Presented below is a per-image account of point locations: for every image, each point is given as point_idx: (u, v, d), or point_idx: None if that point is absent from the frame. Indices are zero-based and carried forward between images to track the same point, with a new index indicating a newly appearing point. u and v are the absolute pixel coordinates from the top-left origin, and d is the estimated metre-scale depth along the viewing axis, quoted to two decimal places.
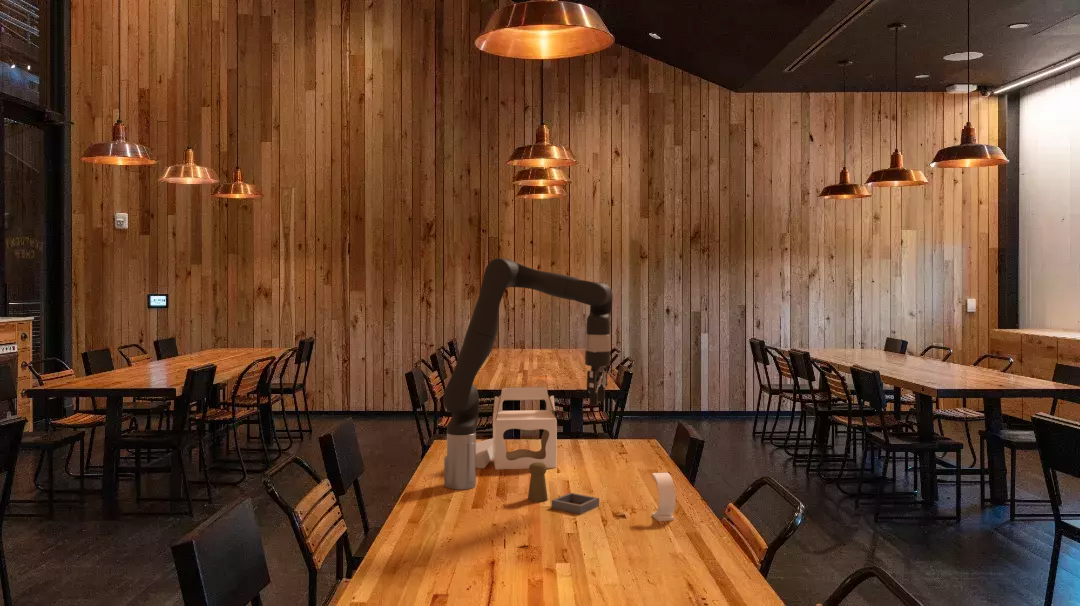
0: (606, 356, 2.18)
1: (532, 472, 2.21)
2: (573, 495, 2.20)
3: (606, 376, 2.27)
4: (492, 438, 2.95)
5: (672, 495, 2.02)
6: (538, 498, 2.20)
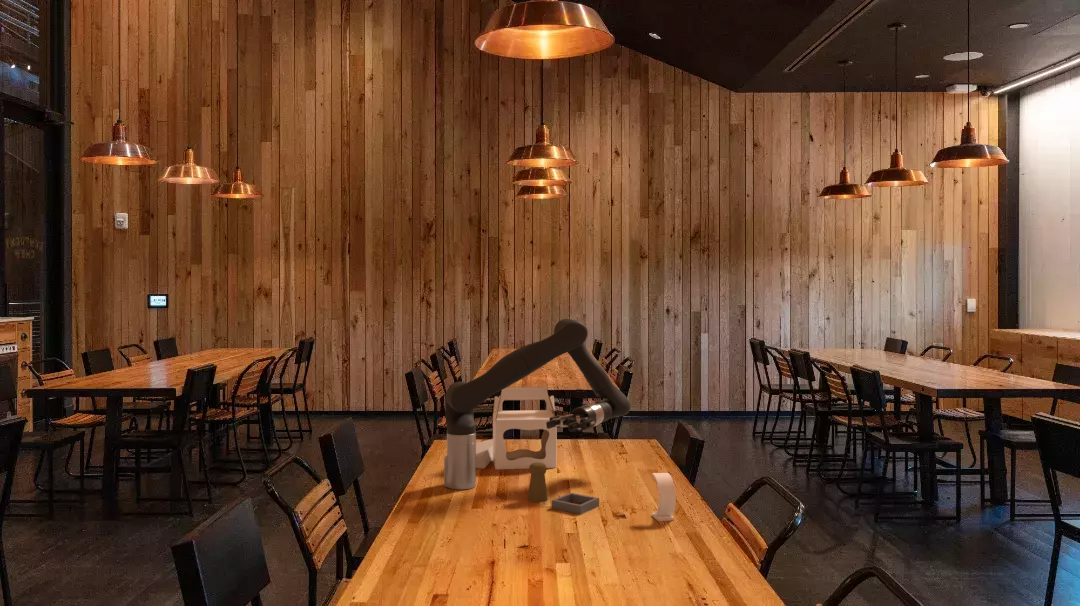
0: None
1: (532, 472, 2.21)
2: (573, 495, 2.20)
3: (557, 423, 2.40)
4: None
5: (672, 495, 2.02)
6: (538, 498, 2.20)
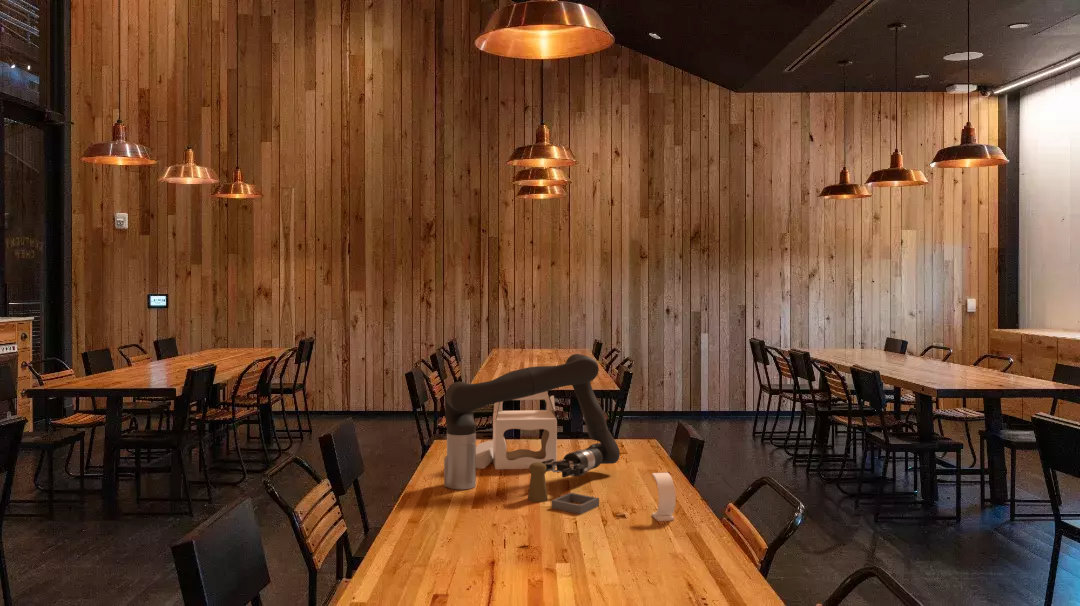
0: None
1: (532, 472, 2.21)
2: (573, 495, 2.20)
3: (548, 468, 2.38)
4: None
5: (672, 495, 2.02)
6: (538, 498, 2.20)
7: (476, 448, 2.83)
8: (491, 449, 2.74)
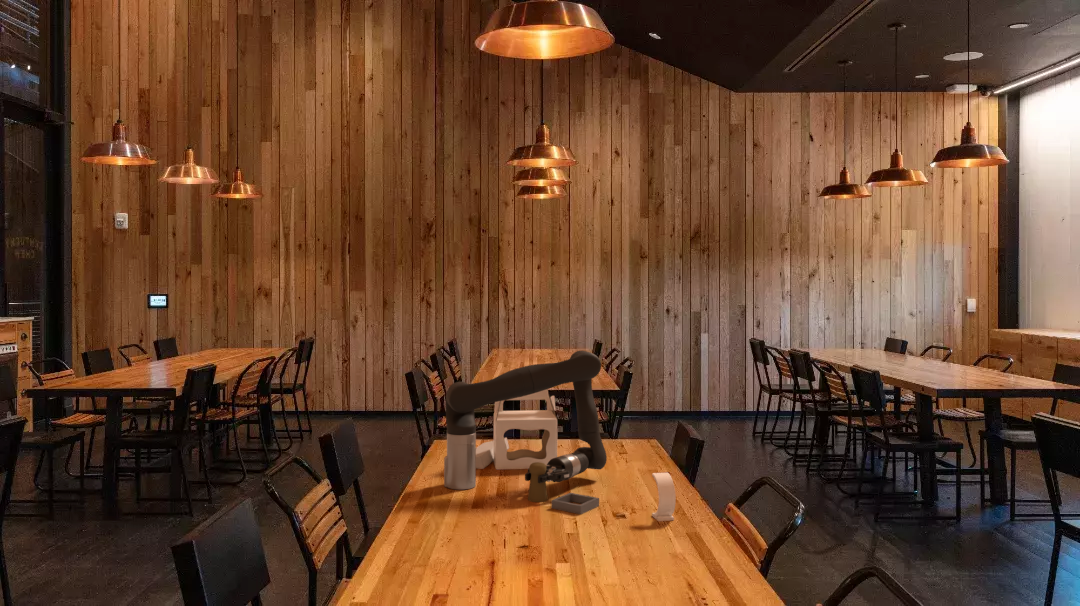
0: None
1: (532, 472, 2.21)
2: (573, 495, 2.20)
3: None
4: None
5: (672, 495, 2.02)
6: (538, 498, 2.20)
7: (477, 448, 2.83)
8: (492, 449, 2.73)
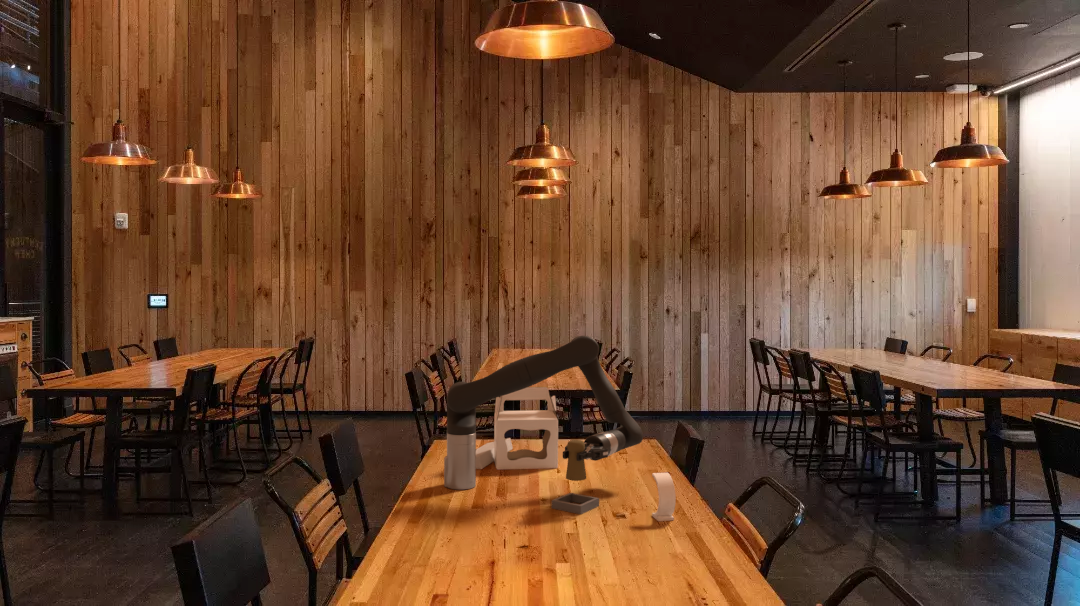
0: None
1: (570, 449, 2.13)
2: (573, 495, 2.20)
3: None
4: None
5: (672, 495, 2.02)
6: (577, 477, 2.12)
7: (480, 448, 2.83)
8: (492, 450, 2.73)
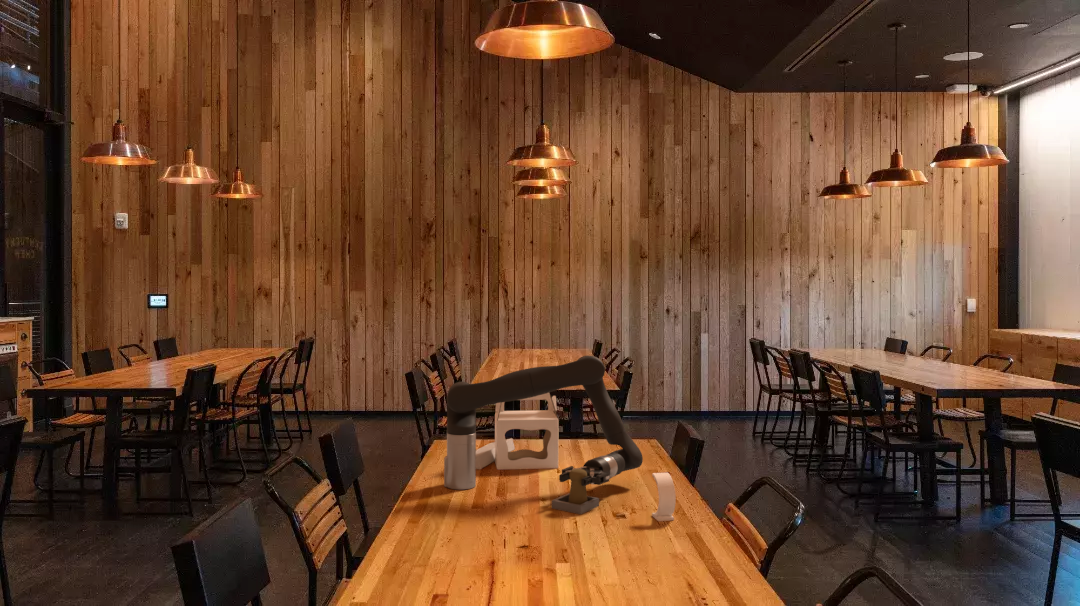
0: None
1: (573, 479, 2.13)
2: None
3: None
4: None
5: (672, 495, 2.02)
6: None
7: (481, 448, 2.83)
8: (492, 450, 2.73)
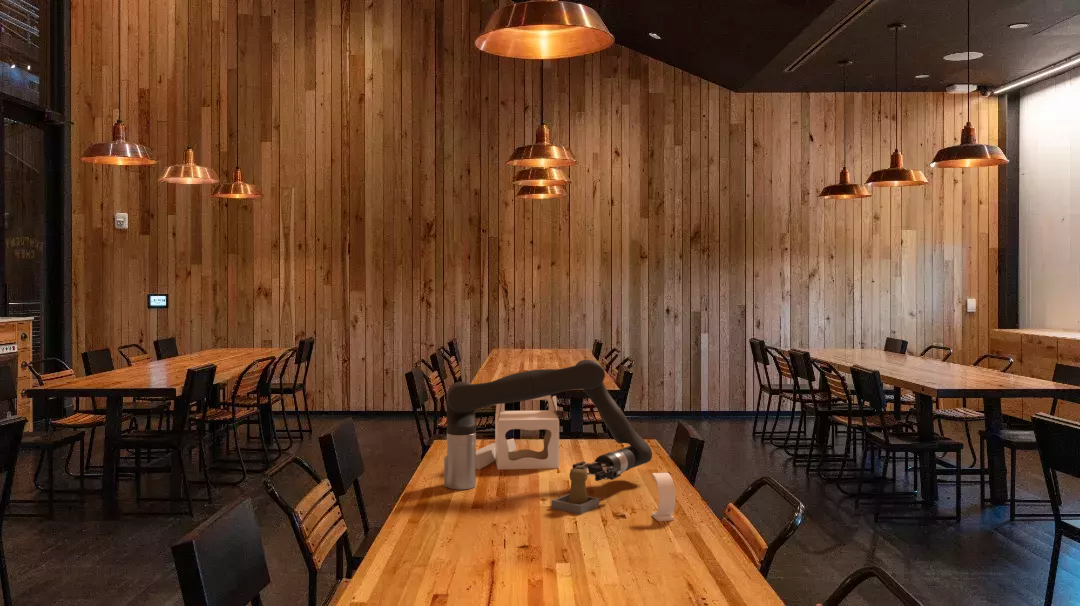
0: None
1: (573, 479, 2.13)
2: None
3: None
4: (506, 440, 2.92)
5: (672, 495, 2.02)
6: None
7: (482, 448, 2.83)
8: (492, 450, 2.72)
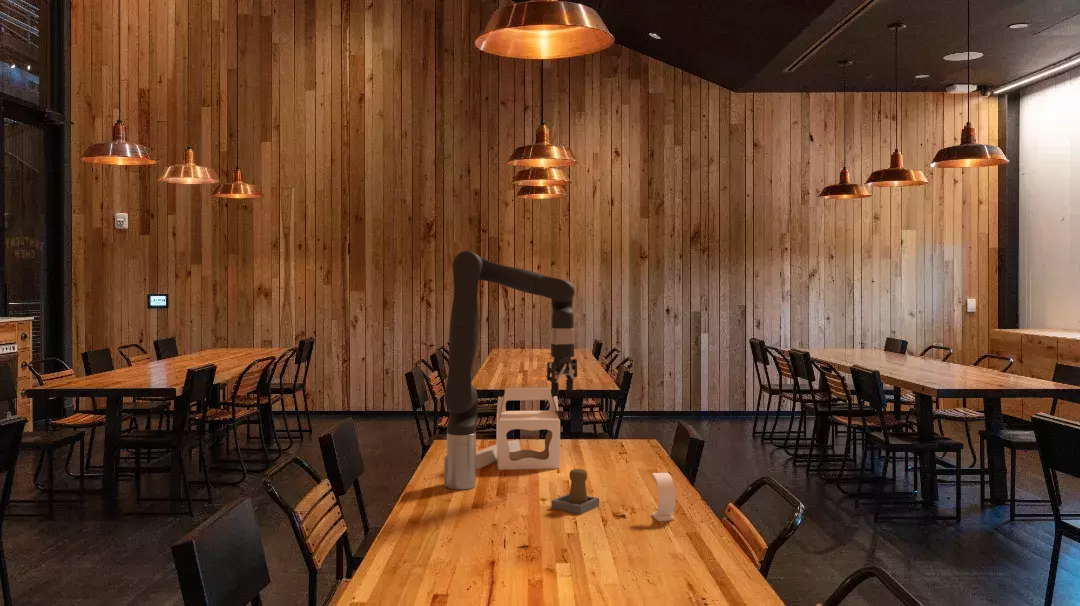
0: (567, 348, 2.34)
1: (573, 479, 2.13)
2: None
3: (575, 367, 2.42)
4: None
5: (672, 495, 2.02)
6: None
7: (485, 449, 2.82)
8: (493, 451, 2.71)
